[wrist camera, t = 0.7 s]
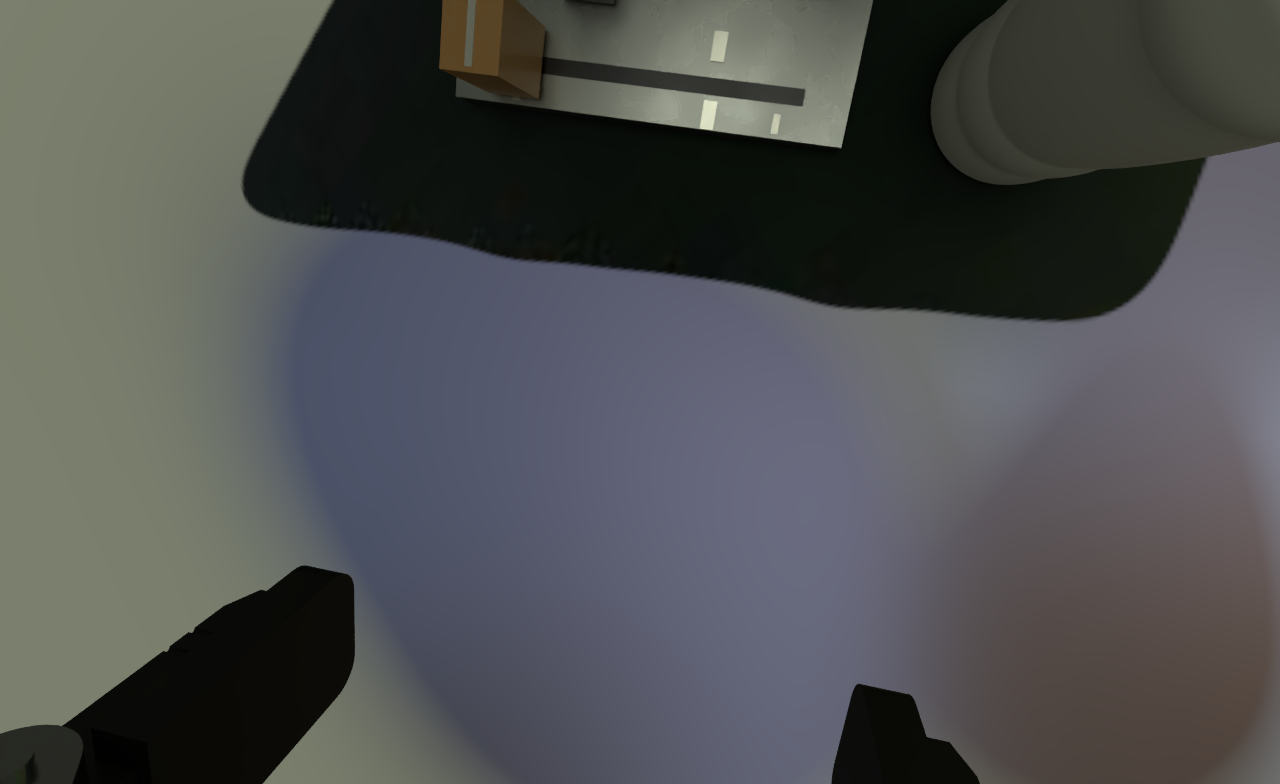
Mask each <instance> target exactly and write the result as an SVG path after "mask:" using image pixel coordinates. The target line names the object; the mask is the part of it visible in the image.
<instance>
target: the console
mask: <svg viewBox="0 0 1280 784" xmlns="http://www.w3.org/2000/svg"><path fill="white" fill-rule="evenodd" d="M517 1H518V2H519V3H520V4H521V5H522V6H523V7H524V8H526V9H527V10H528V11H529V12H530V13H531V14H532V15H533V16H534V17H535V18H536V19H537V20H538V21H539V22H541V23H542V24H543V25H544V26H545V36H544V47H543V57H542V68H541V79H540V90H539V99H532V98H525V97H517V96H510V95H502V94H494V93H488V92H486V91H484V90H482V89H480V88H478V87H476V86H474V85H472V84H470V83H468V82H466V81H464V80H462V79H460V78H457V84H456V97H458V98H461V99H463V100H465V101H468V102H470V103H473V104H479V105H487V106H494V107H501V108H509V109H516V110H524V111H531V112H539V113H546V114H553V115H561V116H568V117H576V118H583V119H591V120H598V121H606V122H613V123H620V124H628V125H635V126H643V127H650V128H658V129H665V130H672V131H680V132H687V133H695V134H702V135H710V136H717V137H725V138H732V139H739V140H747V141H754V142H762V143H769V144H777V145H784V146H791V147H799V148H806V149H814V150H821V151H829V152H837V151H838V150H839V149H840V148H841V147H842V142H843V137H844V133H845V128H846V123H847V119H848V114H849V109H850V105H851V100H852V95H853V91H854V86H855V82H856V77H857V72H858V68H859V63H860V58H861V54H862V49H863V44H864V40H865V35H866V31H867V26H868V21H869V17H870V12H871V7H872V3H873V0H615V2H614V4H608V3H599V2H590V1H581V0H517Z"/></svg>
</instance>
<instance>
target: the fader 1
mask: <svg viewBox="0 0 1280 784" xmlns="http://www.w3.org/2000/svg"><path fill="white" fill-rule="evenodd" d="M544 36H545V26H544V25H543V24H542V23H541V22H539V21H538V20H537V19H536V18H535V17H534V16H533V15H532V14H531V13H530V12H529V11H528V10H527V9H526V8H524V7H523V6H522V5H521V4H520V3H519V2H518V1H517V0H443V9H442V28H441V47H440V66H439V69H441V70H443V71H445V72H447V73H449V74H451V75H453V76H455V77H457V78H460V79H462V80H464V81H466V82H468V83H470V84H472V85H474V86H476V87H478V88H480V89H482V90H484V91H486V92H488V93H494V94H502V95H510V96H517V97H525V98H532V99H539V90H540V79H541V68H542V57H543V47H544Z"/></svg>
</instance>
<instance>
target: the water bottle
mask: <svg viewBox="0 0 1280 784" xmlns="http://www.w3.org/2000/svg"><path fill="white" fill-rule="evenodd" d="M931 123H932V129H933V133H934V136H935V139H936V142H937V144H938V146H939V148H940V150H941V151H942V153H943V154H944V156H945V157H946V158H947V160H948V161H949V162H950V163H951V164H952V165H953V166H954V167H955V168H957V169H958V170H959V171H961V172H962V173H964V174H965V175H967V176H969V177H971V178H973V179H976V180H978V181H982V182H985V183H990V184H998V185H1015V184H1024V183H1030V182H1035V181H1039V180H1043V179H1047V178H1062V177H1070V176H1075V175H1080V174H1085V173H1088V172H1092V171H1095V170H1098V169H1112V168H1127V167H1137V166H1147V165H1155V164H1163V163H1170V162H1177V161H1184V160H1190V159H1197V158H1203V157H1208V156H1214V155H1220V154H1225V153H1230V152H1235V151H1239V150H1244V149H1249V148H1254V147H1258V146H1262V145H1267V144H1270V143H1274V142H1280V0H1008V1H1007V2H1006V3H1005V4H1004V5H1003V6H1002V7H1000V8H999V9H998V10H997V12H996V13H995V14H993V15H992V16H990V17H989V18H988V19H986V20H985V21H983V22H982V23H981V24H979V25H978V26H977V27H976V28H975V29H973V30H972V31H971V32H970V33H969V34H968V35H967V36H966V37H965V38H964V39H963V40H962V41H961V42H960V43H959V44H958V45H957V46H956V47H955V49H954V50H953V51H952V52H951V54H950V55H949V57H948V58H947V60H946V61H945V63H944V65H943V67H942V68H941V70H940V72H939V75H938V77H937V80H936V83H935V86H934V89H933V94H932V100H931Z"/></svg>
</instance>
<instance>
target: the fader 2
mask: <svg viewBox="0 0 1280 784" xmlns="http://www.w3.org/2000/svg"><path fill="white" fill-rule="evenodd" d="M581 1H590V2H599V3H608V4H614V2H615V0H581Z"/></svg>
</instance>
